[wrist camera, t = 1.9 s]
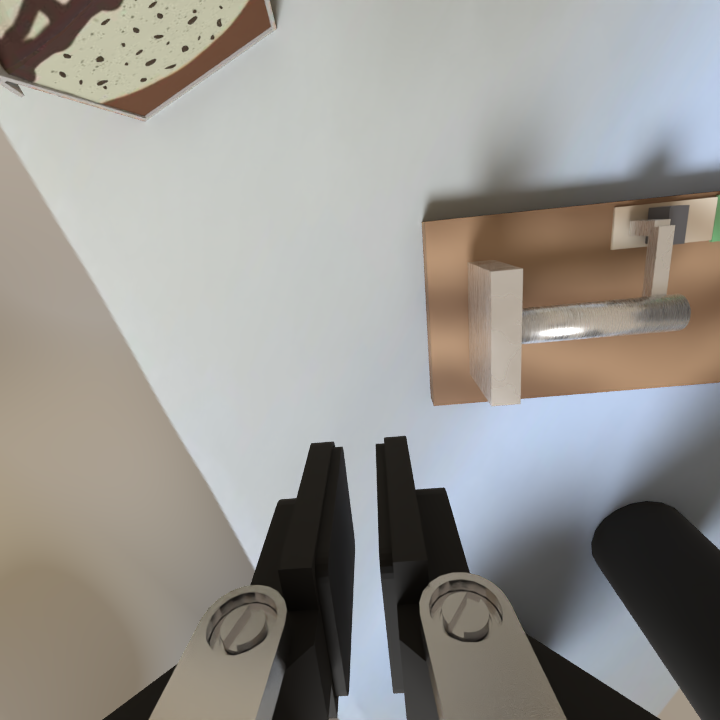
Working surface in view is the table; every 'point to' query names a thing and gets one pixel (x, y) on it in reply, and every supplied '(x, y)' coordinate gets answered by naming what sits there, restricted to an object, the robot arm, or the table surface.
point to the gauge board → (576, 296)
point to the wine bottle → (668, 592)
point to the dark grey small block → (672, 220)
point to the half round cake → (124, 47)
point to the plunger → (561, 314)
